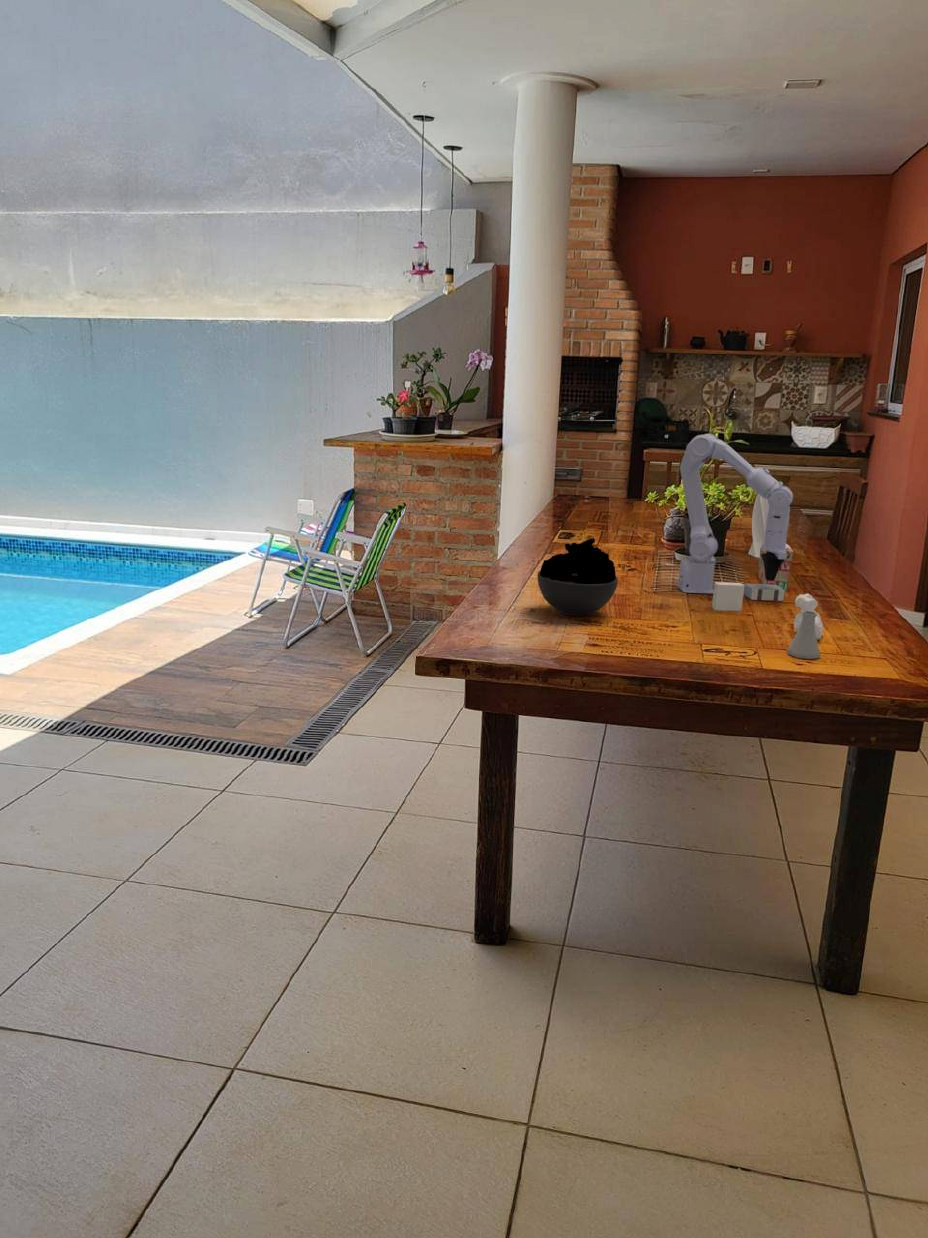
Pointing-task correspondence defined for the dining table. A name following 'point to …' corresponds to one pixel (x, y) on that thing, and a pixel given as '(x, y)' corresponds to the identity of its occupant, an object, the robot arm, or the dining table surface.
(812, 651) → the flask
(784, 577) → the stack of blocks
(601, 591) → the coal bowl
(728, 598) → the light grey square block
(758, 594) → the gray rectangular block
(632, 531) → the dining table surface
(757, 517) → the skyscraper
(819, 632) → the bust
